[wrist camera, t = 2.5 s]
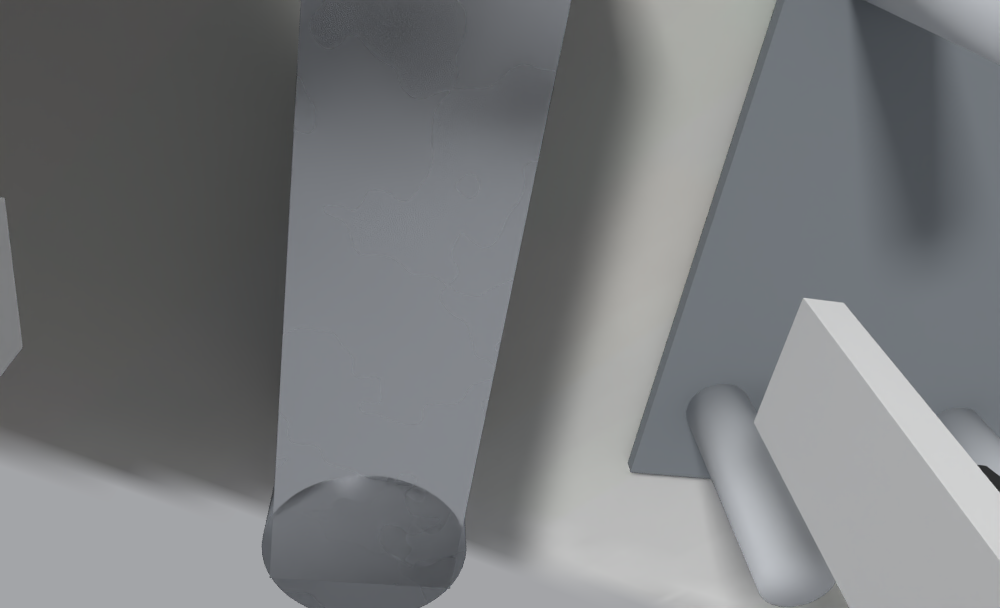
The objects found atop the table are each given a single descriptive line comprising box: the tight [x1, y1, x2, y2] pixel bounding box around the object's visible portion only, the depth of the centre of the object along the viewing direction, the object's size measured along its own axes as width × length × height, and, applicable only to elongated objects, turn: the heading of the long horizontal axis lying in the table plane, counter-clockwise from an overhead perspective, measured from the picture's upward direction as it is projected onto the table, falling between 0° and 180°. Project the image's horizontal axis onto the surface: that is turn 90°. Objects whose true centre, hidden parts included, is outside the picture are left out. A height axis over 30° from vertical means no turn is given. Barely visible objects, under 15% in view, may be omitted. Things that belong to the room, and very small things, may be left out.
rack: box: [628, 0, 1000, 607], centre depth 19 cm, size 11×17×6 cm, turn 170°
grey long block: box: [262, 0, 571, 608], centre depth 18 cm, size 17×4×6 cm, turn 170°
